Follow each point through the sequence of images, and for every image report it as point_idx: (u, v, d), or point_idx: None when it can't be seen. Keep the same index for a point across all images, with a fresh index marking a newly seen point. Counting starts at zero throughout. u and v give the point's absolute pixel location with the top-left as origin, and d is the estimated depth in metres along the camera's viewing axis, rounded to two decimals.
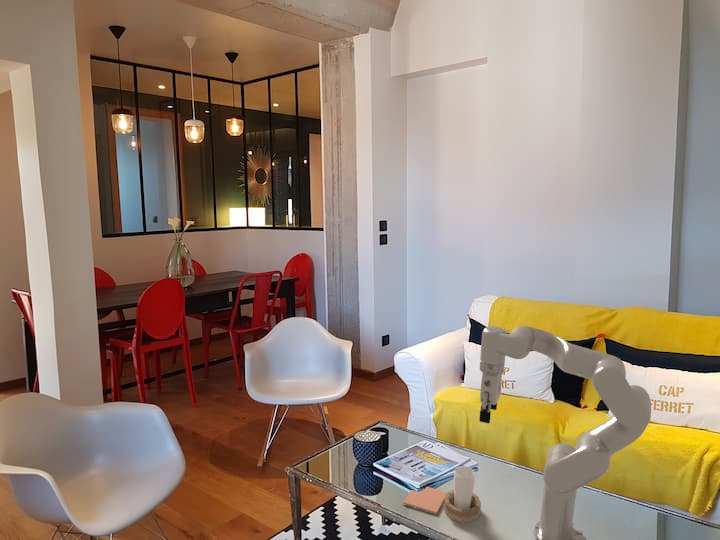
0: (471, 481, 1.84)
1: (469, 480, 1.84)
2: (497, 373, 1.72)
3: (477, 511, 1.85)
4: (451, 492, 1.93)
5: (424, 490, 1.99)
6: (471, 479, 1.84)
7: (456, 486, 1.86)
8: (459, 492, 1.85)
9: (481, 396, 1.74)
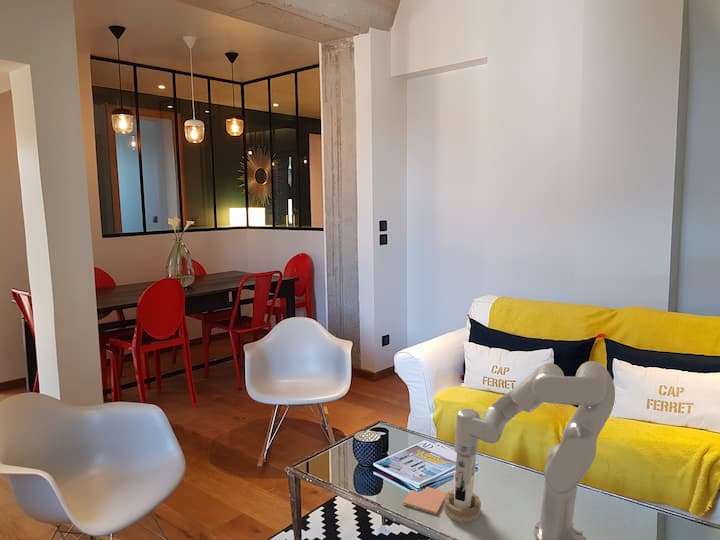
0: (471, 481, 1.84)
1: None
2: (470, 454, 1.81)
3: (477, 511, 1.85)
4: (451, 492, 1.93)
5: (424, 490, 1.99)
6: (471, 479, 1.84)
7: None
8: None
9: (455, 477, 1.83)
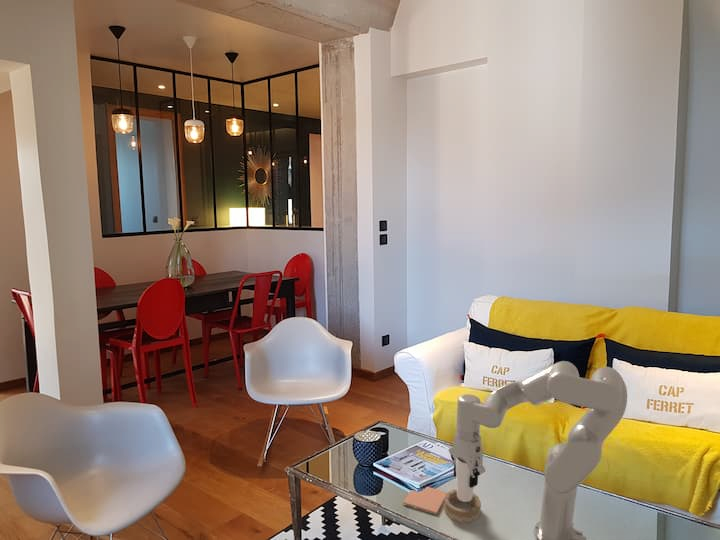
0: None
1: None
2: None
3: (477, 511, 1.85)
4: (451, 492, 1.93)
5: (424, 490, 1.99)
6: None
7: (468, 475, 1.83)
8: None
9: (473, 466, 1.80)
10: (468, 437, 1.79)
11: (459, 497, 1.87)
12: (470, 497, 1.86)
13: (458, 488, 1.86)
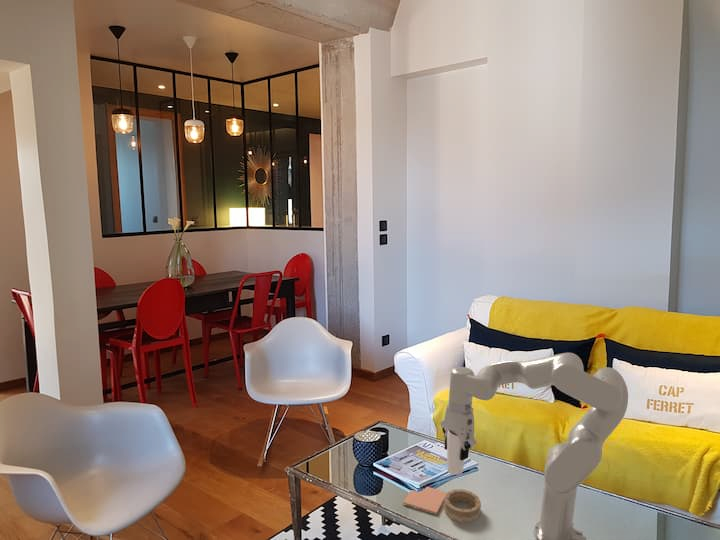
0: None
1: None
2: None
3: (477, 511, 1.85)
4: (451, 492, 1.93)
5: (424, 490, 1.99)
6: None
7: (459, 448, 1.82)
8: None
9: (464, 438, 1.80)
10: (460, 409, 1.78)
11: (449, 470, 1.86)
12: (460, 470, 1.85)
13: (449, 461, 1.85)
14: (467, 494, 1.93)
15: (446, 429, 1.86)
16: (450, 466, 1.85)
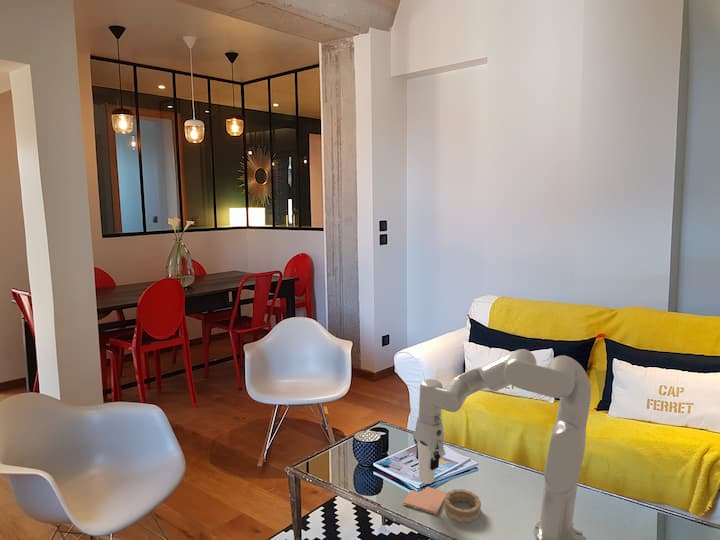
0: None
1: None
2: None
3: (477, 511, 1.85)
4: (451, 492, 1.93)
5: (424, 490, 1.99)
6: None
7: (429, 458, 1.88)
8: None
9: (434, 449, 1.85)
10: (429, 420, 1.84)
11: (421, 479, 1.92)
12: (431, 479, 1.91)
13: (420, 470, 1.91)
14: (467, 494, 1.93)
15: (417, 440, 1.91)
16: (421, 475, 1.91)
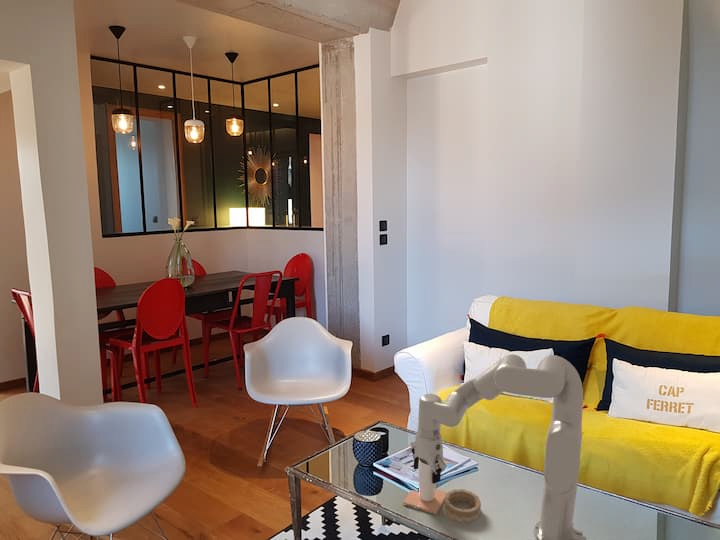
0: None
1: None
2: None
3: (477, 511, 1.85)
4: (451, 492, 1.93)
5: None
6: None
7: (429, 476, 1.89)
8: None
9: (434, 461, 1.86)
10: (428, 435, 1.85)
11: (421, 497, 1.93)
12: (431, 497, 1.92)
13: (420, 488, 1.92)
14: (467, 494, 1.93)
15: (416, 453, 1.93)
16: (422, 493, 1.92)
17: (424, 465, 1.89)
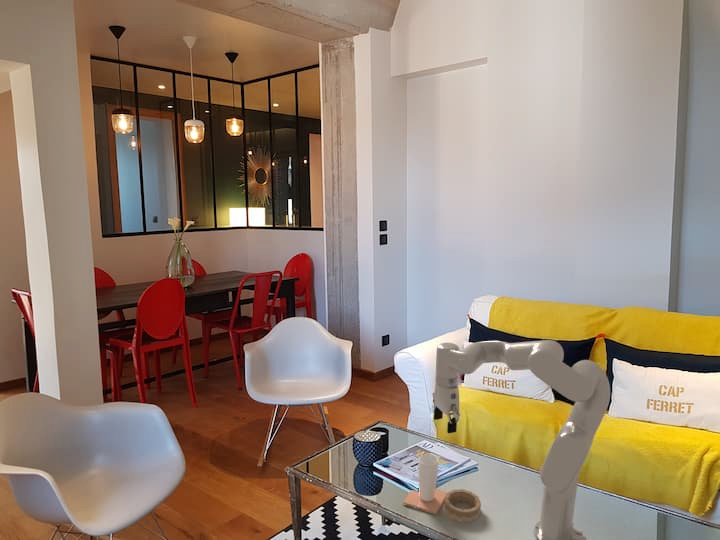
0: None
1: None
2: (457, 384, 1.87)
3: (477, 511, 1.85)
4: (451, 492, 1.93)
5: None
6: None
7: (429, 476, 1.89)
8: (432, 479, 1.90)
9: (448, 410, 1.85)
10: (444, 383, 1.85)
11: (421, 497, 1.93)
12: (431, 497, 1.92)
13: (420, 488, 1.92)
14: (467, 494, 1.93)
15: (435, 403, 1.93)
16: (422, 493, 1.92)
17: (424, 465, 1.89)
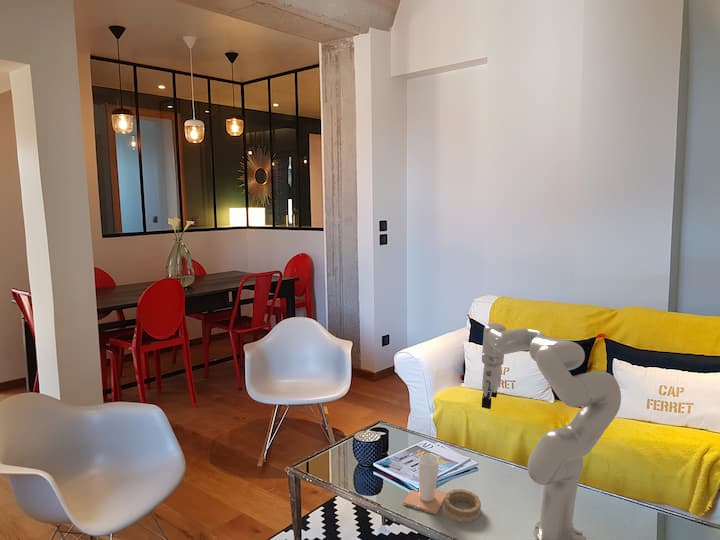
0: None
1: None
2: (497, 364, 1.95)
3: (477, 511, 1.85)
4: (451, 492, 1.93)
5: None
6: None
7: (429, 476, 1.89)
8: (433, 479, 1.90)
9: (483, 385, 1.96)
10: (484, 358, 1.97)
11: (421, 497, 1.93)
12: (432, 497, 1.92)
13: (420, 488, 1.92)
14: (467, 494, 1.93)
15: None
16: (422, 493, 1.92)
17: (424, 465, 1.89)
